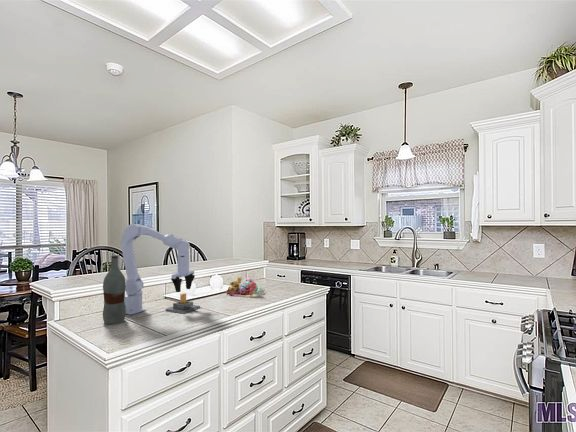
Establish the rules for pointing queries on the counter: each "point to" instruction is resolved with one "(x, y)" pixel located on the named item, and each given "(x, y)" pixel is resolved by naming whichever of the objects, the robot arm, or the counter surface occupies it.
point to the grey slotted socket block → (183, 307)
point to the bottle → (114, 294)
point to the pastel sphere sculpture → (245, 288)
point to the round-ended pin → (183, 298)
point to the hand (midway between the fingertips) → (183, 290)
